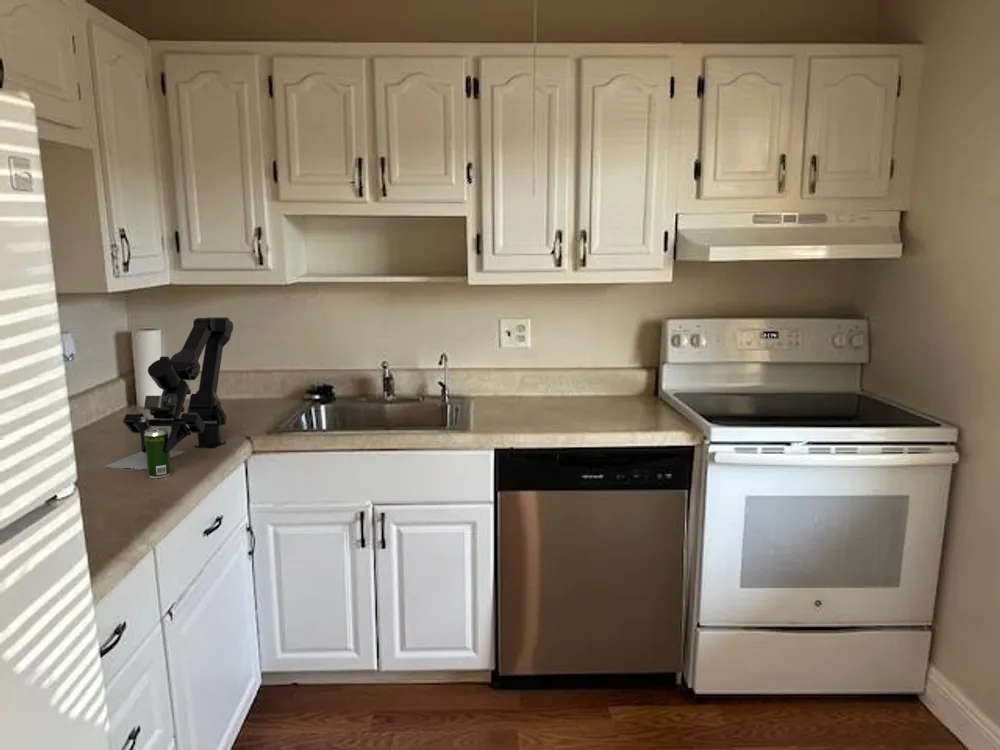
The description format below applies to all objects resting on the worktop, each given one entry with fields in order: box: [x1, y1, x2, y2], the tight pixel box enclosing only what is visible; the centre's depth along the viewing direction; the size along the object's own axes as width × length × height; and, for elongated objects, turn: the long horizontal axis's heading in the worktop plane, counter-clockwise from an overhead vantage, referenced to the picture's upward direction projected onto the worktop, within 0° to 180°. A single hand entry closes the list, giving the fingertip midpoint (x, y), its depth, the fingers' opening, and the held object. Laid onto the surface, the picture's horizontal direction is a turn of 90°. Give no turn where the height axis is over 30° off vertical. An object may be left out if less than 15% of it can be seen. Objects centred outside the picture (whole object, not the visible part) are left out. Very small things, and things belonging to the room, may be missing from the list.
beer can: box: [144, 426, 172, 479], centre depth 174 cm, size 5×5×12 cm
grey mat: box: [105, 450, 186, 470], centre depth 189 cm, size 16×12×1 cm
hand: (154, 452), depth 172 cm, fingers closed on beer can, 5 cm apart
